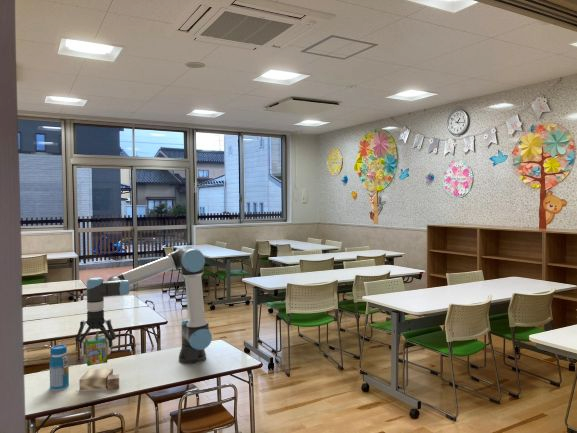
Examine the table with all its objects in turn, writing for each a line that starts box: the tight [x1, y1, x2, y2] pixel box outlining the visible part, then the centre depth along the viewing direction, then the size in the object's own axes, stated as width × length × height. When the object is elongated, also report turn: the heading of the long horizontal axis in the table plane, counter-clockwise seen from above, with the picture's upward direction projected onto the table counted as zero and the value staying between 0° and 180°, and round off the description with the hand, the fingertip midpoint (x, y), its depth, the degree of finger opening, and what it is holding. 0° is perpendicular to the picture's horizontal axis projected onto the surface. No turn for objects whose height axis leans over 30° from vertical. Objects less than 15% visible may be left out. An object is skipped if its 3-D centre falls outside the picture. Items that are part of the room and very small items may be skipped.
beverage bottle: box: [48, 344, 70, 391], centre depth 212 cm, size 8×8×20 cm
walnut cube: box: [107, 373, 120, 391], centre depth 211 cm, size 5×5×5 cm
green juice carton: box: [84, 330, 108, 367], centre depth 215 cm, size 9×9×15 cm
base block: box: [78, 368, 114, 390], centre depth 215 cm, size 12×12×5 cm
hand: (96, 354), depth 215 cm, fingers closed on green juice carton, 11 cm apart
